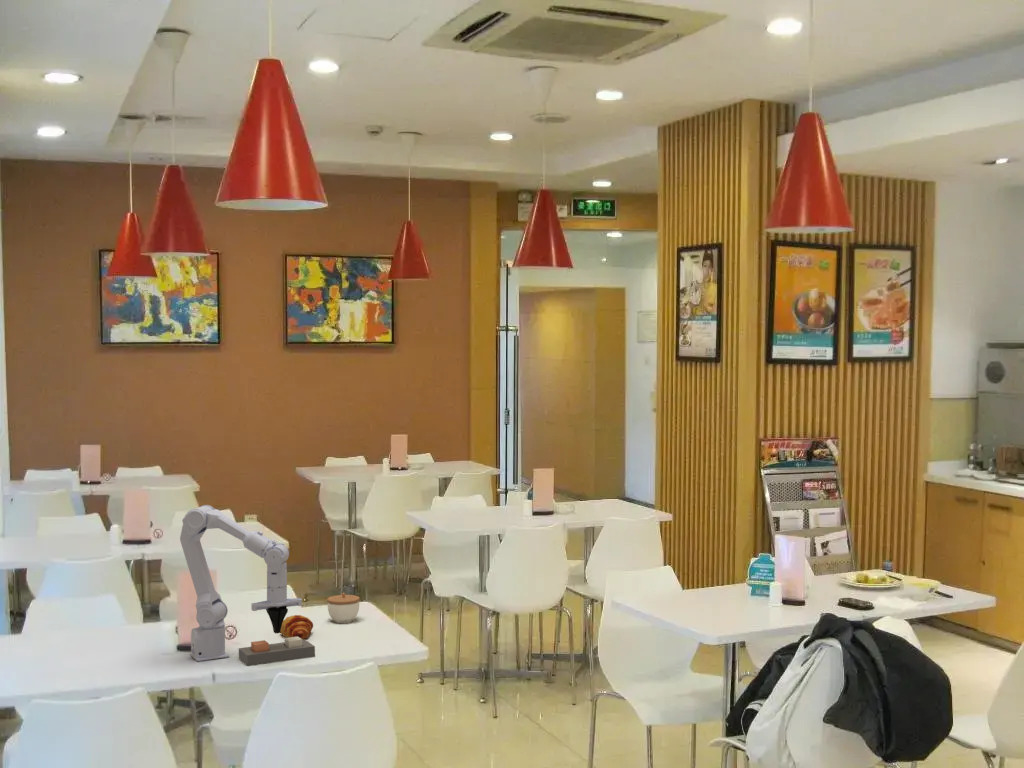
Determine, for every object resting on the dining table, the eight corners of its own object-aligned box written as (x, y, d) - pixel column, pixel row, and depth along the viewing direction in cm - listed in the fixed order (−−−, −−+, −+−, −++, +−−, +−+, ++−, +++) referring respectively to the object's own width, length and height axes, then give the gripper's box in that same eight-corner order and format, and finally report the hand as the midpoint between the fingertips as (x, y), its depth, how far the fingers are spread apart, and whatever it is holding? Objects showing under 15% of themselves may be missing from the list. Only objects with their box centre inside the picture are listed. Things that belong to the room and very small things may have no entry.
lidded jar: (325, 618, 361) (325, 591, 361) (356, 616, 365) (356, 588, 364) (329, 625, 351) (329, 597, 351) (362, 623, 354) (362, 595, 354)
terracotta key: (255, 655, 308) (255, 645, 308) (251, 652, 311) (251, 642, 311) (268, 653, 310) (268, 643, 310) (264, 650, 313) (264, 640, 313)
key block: (247, 665, 304) (247, 655, 304) (238, 658, 312) (238, 648, 312) (314, 656, 314) (314, 646, 314) (304, 649, 322) (304, 639, 322)
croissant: (283, 638, 349) (271, 618, 347) (310, 622, 352) (298, 601, 351) (292, 653, 329) (280, 631, 328) (321, 635, 332) (309, 613, 331)
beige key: (289, 651, 313) (288, 641, 313) (284, 648, 316) (284, 638, 316) (302, 649, 315) (302, 639, 315) (297, 646, 318) (297, 636, 318)
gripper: (256, 591, 306) (256, 638, 306) (305, 586, 313) (305, 632, 313) (249, 586, 312) (249, 633, 312) (297, 582, 319) (297, 627, 319)
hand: (276, 632), depth 313 cm, fingers closed
